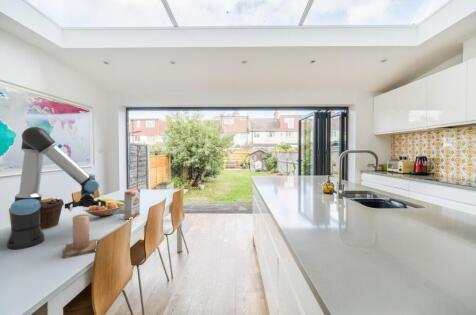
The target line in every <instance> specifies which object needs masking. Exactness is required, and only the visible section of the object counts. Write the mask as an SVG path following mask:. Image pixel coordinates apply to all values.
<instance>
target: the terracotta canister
mask: <svg viewBox="0 0 476 315" xmlns="http://www.w3.org/2000/svg"><path fill="white" fill-rule="evenodd" d="M89 240H90V215H89V214H78V215H73V217H72V243H73V249H83V248H86V247H88V246H89Z"/></svg>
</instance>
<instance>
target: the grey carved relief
mask: <svg viewBox="0 0 476 315" xmlns="http://www.w3.org/2000/svg"><path fill="white" fill-rule="evenodd" d="M113 215H124V206H123V207H122V208H121V209H120V210H119V211H118V212H116V213H114V214H113Z"/></svg>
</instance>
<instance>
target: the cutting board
mask: <svg viewBox="0 0 476 315" xmlns="http://www.w3.org/2000/svg"><path fill="white" fill-rule="evenodd" d="M96 241H97V242H98V238H96V239H89V246H88V247H86V248H83V249H73V242H71V243H67V244H65V247H64V249H63V253H62V259H66V258H71V257H76V256H82V255H87V254H91V253H96V252H95V249H96Z"/></svg>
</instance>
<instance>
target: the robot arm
mask: <svg viewBox="0 0 476 315" xmlns="http://www.w3.org/2000/svg"><path fill="white" fill-rule="evenodd" d="M21 139H22V140H21V151H22V152H23V154H24V155H23V161H22V168H21V169H22V170H21V177H20V185H19V192H18V193H17V194H16V195H15V196H14V201H13V202H12V203H11V204H10V208H9V211H10V233H9V237H8V238H7V241H6V248H7V249H9V250H20V249H27V248H29V247H30V248H31V247H34V246H37V245H39V244H41V243H43V242H44V241H45V238H46V237H45V236H46V235H45V234H44V232H43V229H41V227H40V208H41V202H42V196H43V195H42V194H41V193H40V186H41V180H42V169H43V165H44V164H43V162H44V156H46V157H47V158H48V160H50V161H51V162H53V163H54V164H55V165H56V166H57V167H59V168H60V169H61V170H62V171H63V172H64V173H66V174H67V175H68V176H69V177H70V178H72V179H73V180H74V181H75V182H76V183H77V184H79V186H80V187H81V189H80V191H81V192H80V198H79V200H78V201H77V200H72V201H70V202H67V203H64V209H67V210H68V211H69V212H72V210H73V209H74V208H77V207H83V208H89V207H91V206H92V207H93V206H97V207H98V210H101V208H102V207H106V205H107V201H105V200H101V199H99V198H98V199H96V200H95V192H96V191H97V190H99V187H100V183H99V182H98V181H97V180H96V175H95V174H91V173H88V171H86V170H85V169H83V167H81V166H80V165H79V164H78V163H76V161H74V159H72V158H71V157H70V156H69V155H68V154H67V153H65V151H63V150H62V148H60V146H57V142H56V141H55V140H54V139H53V138H52V137H51V136H50V134H49V133H48V132H47V130H45V129H44V128H42V127H39V126H31V127H28V128H26V129H24V131H23V132H22V134H21Z"/></svg>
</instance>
